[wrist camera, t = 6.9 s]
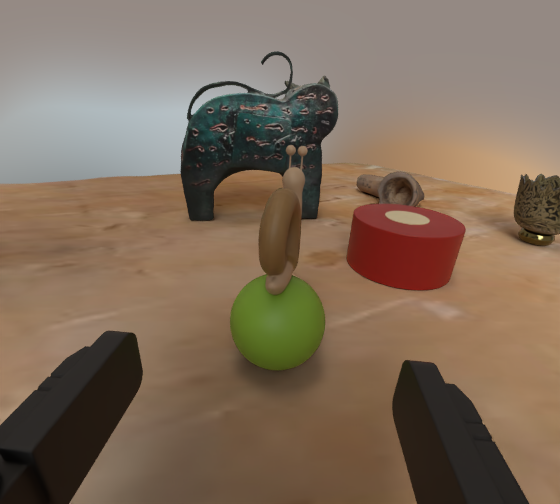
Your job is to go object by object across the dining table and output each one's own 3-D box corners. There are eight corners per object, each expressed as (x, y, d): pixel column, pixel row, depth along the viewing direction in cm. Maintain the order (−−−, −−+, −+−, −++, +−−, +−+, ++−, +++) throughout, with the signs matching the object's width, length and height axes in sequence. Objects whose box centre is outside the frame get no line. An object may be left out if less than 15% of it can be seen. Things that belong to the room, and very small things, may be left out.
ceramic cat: (319, 209, 48) (334, 60, 40) (332, 223, 42) (354, 52, 34) (186, 210, 44) (173, 45, 36) (182, 226, 38) (165, 34, 30)
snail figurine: (323, 325, 22) (346, 148, 17) (316, 401, 16) (349, 166, 11) (249, 314, 23) (250, 141, 18) (217, 382, 17) (206, 155, 12)
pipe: (373, 165, 61) (336, 158, 56) (452, 181, 48) (413, 174, 43) (364, 197, 63) (328, 193, 58) (438, 221, 50) (399, 218, 45)
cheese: (469, 294, 27) (489, 240, 24) (353, 285, 27) (362, 231, 25) (428, 248, 36) (440, 206, 34) (342, 242, 36) (348, 199, 34)
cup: (531, 254, 36) (561, 185, 32) (486, 231, 42) (507, 172, 39) (587, 254, 37) (622, 187, 33) (535, 231, 43) (559, 174, 40)
